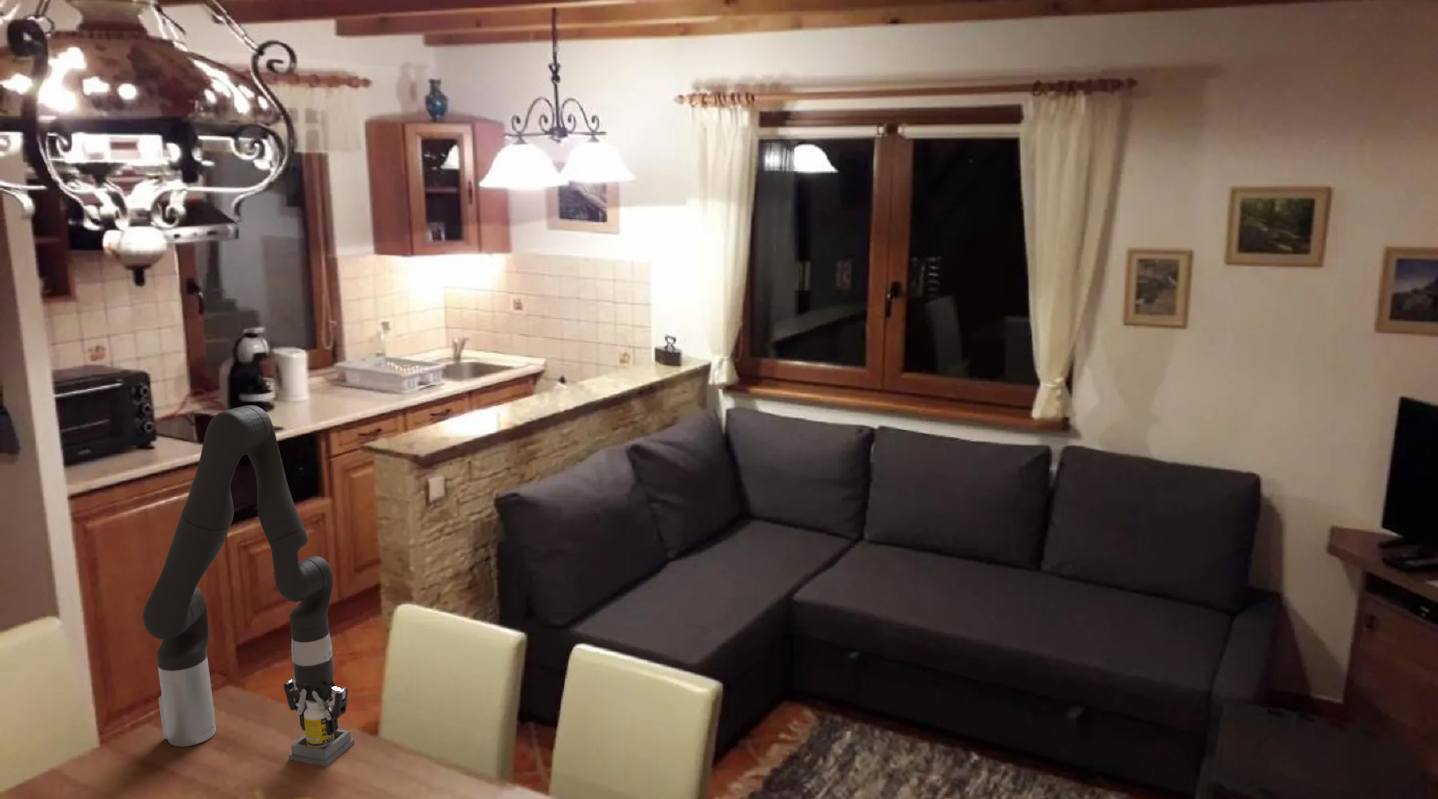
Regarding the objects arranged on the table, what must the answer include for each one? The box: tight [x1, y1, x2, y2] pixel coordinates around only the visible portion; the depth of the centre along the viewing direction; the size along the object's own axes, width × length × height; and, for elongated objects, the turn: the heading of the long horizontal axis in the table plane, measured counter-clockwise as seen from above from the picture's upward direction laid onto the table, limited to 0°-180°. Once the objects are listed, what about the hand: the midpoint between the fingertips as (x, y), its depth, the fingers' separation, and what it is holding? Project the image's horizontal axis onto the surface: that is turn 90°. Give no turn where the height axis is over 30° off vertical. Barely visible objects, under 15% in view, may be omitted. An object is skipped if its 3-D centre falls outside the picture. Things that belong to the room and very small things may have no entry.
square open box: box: [288, 728, 355, 768], centre depth 219 cm, size 9×9×3 cm
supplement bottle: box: [304, 700, 334, 748], centre depth 218 cm, size 5×5×10 cm
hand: (319, 730), depth 219 cm, fingers closed on supplement bottle, 5 cm apart
